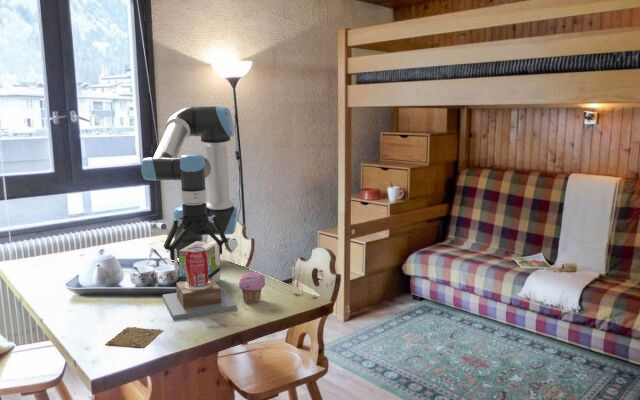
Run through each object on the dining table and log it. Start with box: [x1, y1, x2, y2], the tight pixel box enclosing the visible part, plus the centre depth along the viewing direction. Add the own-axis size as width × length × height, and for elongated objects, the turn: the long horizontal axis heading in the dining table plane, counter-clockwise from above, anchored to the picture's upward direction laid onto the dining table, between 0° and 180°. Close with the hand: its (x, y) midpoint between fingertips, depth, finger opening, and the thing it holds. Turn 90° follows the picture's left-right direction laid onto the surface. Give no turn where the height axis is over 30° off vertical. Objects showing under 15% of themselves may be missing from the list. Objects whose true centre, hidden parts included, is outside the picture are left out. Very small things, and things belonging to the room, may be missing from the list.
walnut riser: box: [175, 278, 221, 309], centre depth 176 cm, size 12×12×5 cm
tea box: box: [178, 241, 221, 283], centre depth 195 cm, size 15×10×15 cm, turn 168°
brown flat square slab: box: [104, 326, 164, 349], centre depth 152 cm, size 12×12×1 cm
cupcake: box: [238, 271, 266, 304], centre depth 179 cm, size 9×9×10 cm
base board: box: [162, 285, 237, 321], centre depth 177 cm, size 20×20×2 cm
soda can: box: [186, 247, 208, 287], centre depth 175 cm, size 7×7×12 cm
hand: (197, 266), depth 175 cm, fingers open, 13 cm apart
